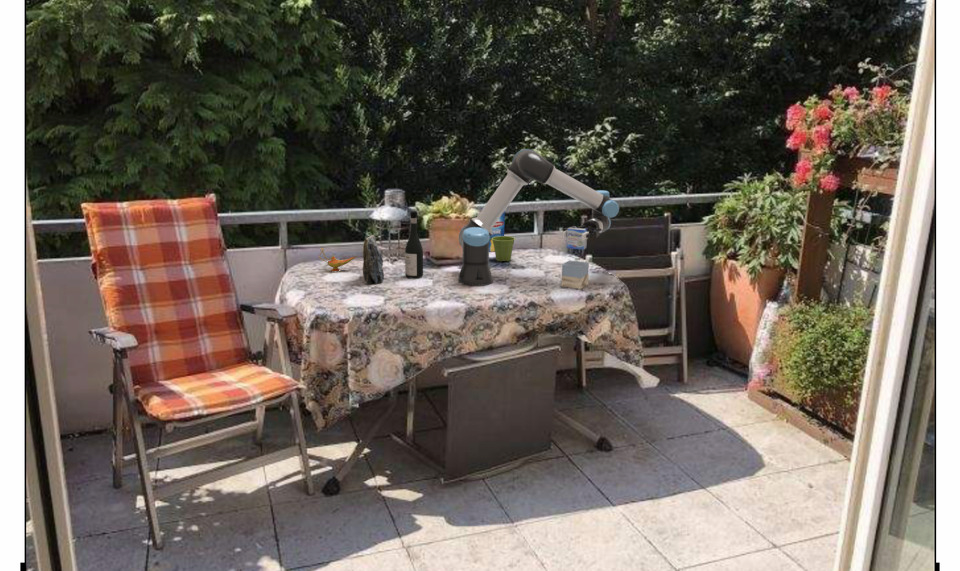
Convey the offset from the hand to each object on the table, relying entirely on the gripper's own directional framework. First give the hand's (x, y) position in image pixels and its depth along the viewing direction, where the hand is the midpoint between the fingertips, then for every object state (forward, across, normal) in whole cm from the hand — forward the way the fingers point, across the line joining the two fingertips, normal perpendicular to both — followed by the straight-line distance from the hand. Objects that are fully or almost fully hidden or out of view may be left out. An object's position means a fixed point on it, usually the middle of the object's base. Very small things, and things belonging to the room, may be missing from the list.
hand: (572, 236), depth 332 cm
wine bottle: (+20, +68, -23) cm, 75 cm away
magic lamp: (+29, +104, -22) cm, 111 cm away
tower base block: (-5, 0, -23) cm, 23 cm away
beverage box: (-49, +65, -23) cm, 84 cm away
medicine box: (-5, 0, -6) cm, 8 cm away
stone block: (+34, +80, -22) cm, 90 cm away
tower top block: (-5, 0, -18) cm, 19 cm away
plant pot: (-31, +49, -23) cm, 62 cm away
